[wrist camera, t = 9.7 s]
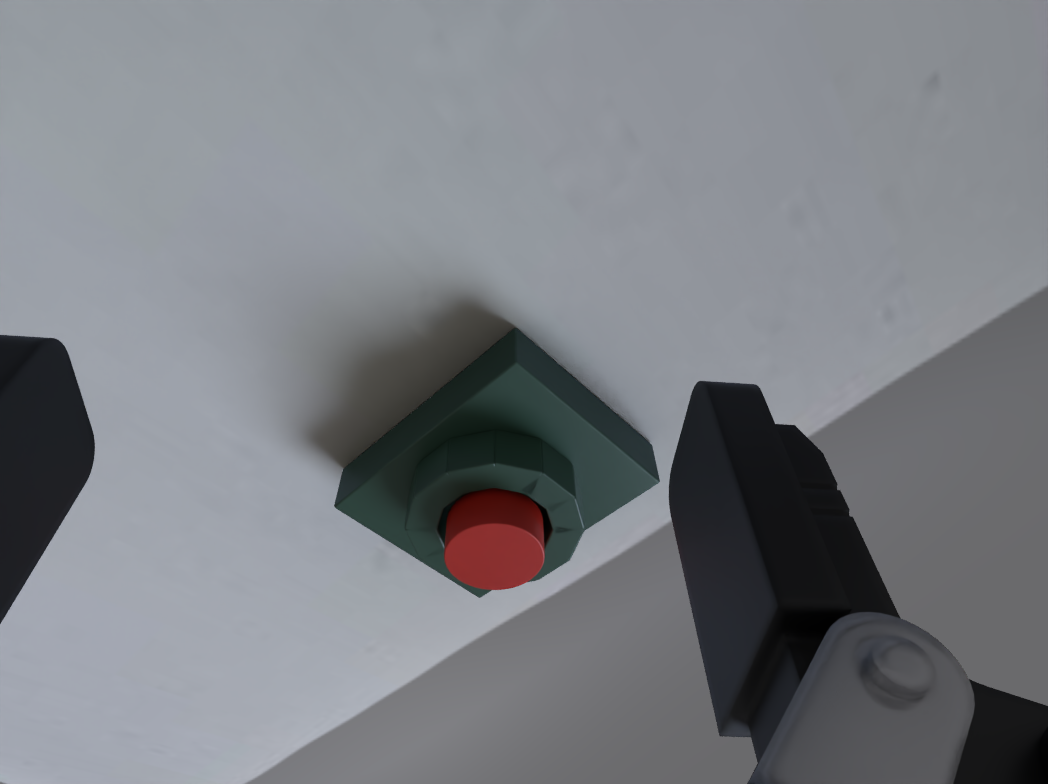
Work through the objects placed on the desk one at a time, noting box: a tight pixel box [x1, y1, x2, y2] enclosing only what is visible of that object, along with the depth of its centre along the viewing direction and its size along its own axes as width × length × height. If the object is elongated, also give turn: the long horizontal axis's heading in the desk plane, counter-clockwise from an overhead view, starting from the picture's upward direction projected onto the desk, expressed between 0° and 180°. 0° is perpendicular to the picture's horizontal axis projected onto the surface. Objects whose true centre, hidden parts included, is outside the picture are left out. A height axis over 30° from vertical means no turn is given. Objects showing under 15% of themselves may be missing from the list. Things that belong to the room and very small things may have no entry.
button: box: [444, 488, 545, 590], centre depth 29 cm, size 4×4×2 cm
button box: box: [334, 328, 660, 598], centre depth 31 cm, size 10×8×4 cm
